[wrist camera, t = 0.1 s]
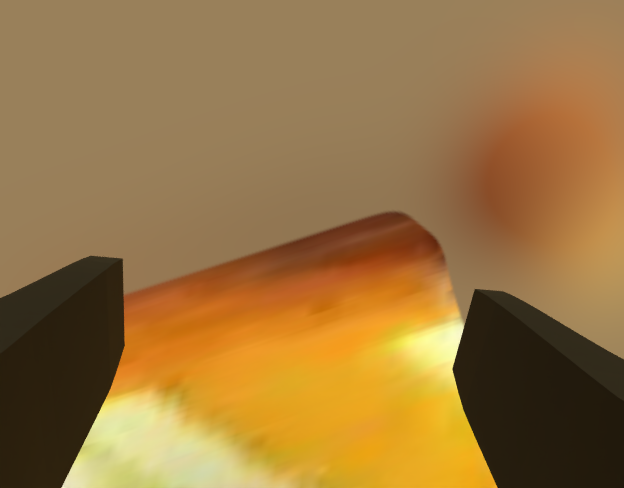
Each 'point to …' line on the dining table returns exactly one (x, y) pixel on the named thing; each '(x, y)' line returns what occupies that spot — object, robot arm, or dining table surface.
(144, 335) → the dining table surface
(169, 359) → the dining table surface
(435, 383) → the dining table surface
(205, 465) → the dining table surface
